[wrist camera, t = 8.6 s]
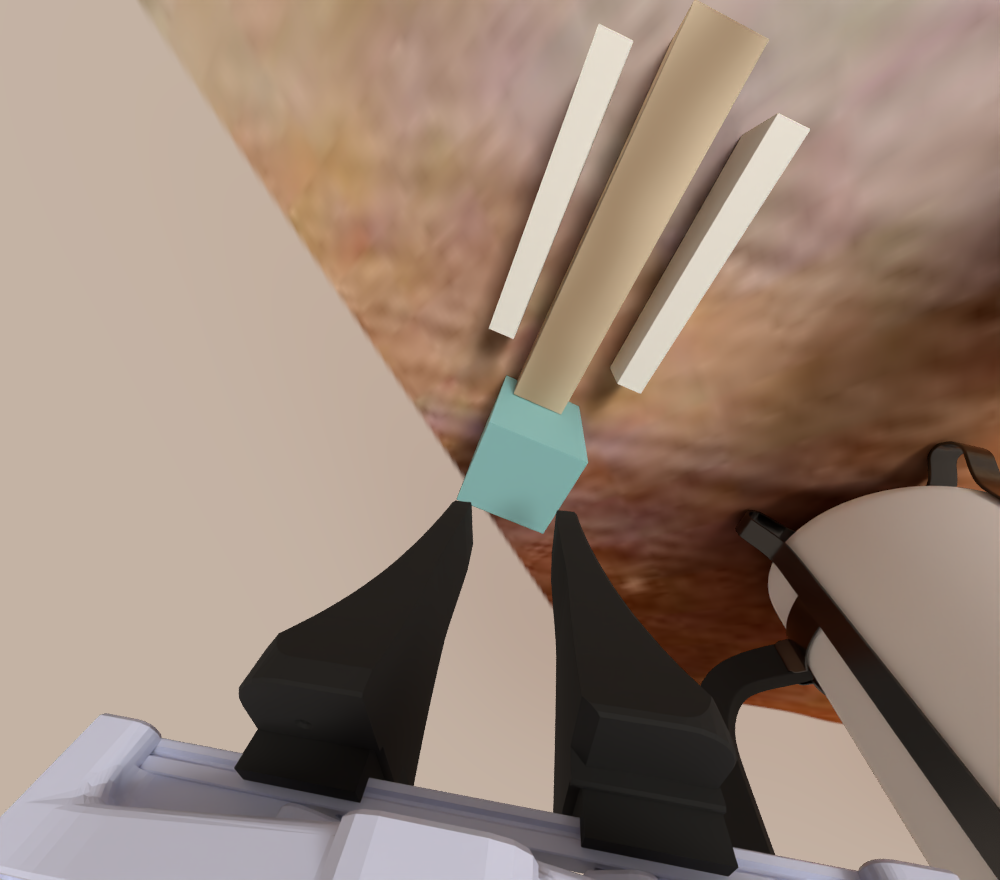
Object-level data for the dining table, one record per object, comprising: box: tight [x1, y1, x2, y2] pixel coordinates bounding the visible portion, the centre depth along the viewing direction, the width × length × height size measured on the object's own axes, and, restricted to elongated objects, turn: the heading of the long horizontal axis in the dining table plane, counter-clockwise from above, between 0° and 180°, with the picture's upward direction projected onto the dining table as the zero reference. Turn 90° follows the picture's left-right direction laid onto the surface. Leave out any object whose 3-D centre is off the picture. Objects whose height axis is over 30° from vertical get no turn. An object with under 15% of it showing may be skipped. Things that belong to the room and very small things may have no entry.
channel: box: [489, 24, 810, 394], centre depth 15 cm, size 8×10×2 cm
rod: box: [514, 0, 769, 414], centre depth 15 cm, size 3×14×3 cm, turn 158°
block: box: [457, 375, 588, 534], centre depth 18 cm, size 4×4×6 cm
